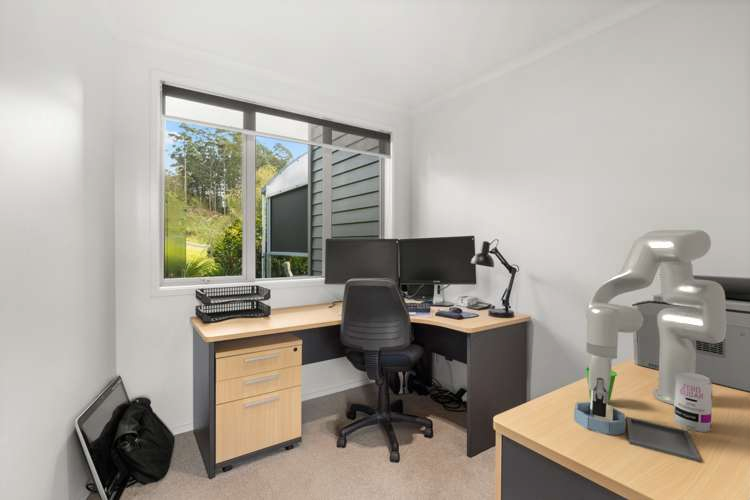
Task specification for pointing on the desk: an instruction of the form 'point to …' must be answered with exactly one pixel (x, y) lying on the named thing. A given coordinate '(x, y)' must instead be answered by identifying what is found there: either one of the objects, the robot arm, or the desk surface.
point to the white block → (592, 400)
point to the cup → (610, 382)
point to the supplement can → (693, 401)
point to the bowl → (599, 420)
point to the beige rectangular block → (607, 414)
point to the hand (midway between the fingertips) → (599, 409)
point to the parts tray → (661, 439)
